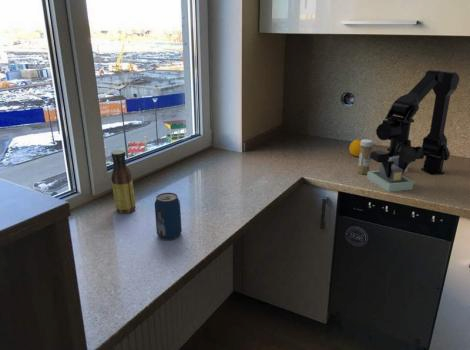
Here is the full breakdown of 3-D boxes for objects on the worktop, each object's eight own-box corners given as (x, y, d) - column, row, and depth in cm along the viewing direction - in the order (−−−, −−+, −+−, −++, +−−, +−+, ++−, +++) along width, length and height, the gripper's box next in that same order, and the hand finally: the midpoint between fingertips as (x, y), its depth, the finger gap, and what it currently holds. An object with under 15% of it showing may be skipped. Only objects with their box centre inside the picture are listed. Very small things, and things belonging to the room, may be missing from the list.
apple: (345, 154, 184) (346, 138, 182) (358, 152, 187) (360, 136, 185) (356, 159, 177) (358, 142, 175) (370, 156, 180) (372, 140, 178)
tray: (389, 175, 157) (390, 169, 156) (412, 189, 145) (413, 182, 144) (366, 178, 155) (367, 171, 154) (388, 191, 142) (389, 184, 141)
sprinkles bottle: (367, 175, 158) (371, 142, 153) (355, 173, 160) (359, 141, 155) (370, 171, 162) (374, 139, 157) (358, 170, 164) (362, 138, 159)
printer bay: (397, 166, 167) (399, 155, 166) (407, 172, 161) (409, 160, 160) (381, 168, 166) (383, 157, 164) (391, 173, 160) (393, 161, 158)
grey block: (388, 177, 154) (390, 162, 152) (401, 184, 146) (403, 169, 144) (378, 178, 153) (380, 163, 151) (391, 185, 145) (393, 170, 143)
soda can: (182, 229, 116) (180, 191, 112) (180, 241, 110) (178, 201, 106) (159, 229, 116) (156, 191, 112) (155, 241, 110) (152, 202, 105)
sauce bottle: (128, 204, 132) (122, 147, 125) (139, 209, 129) (134, 150, 122) (111, 211, 128) (104, 151, 121) (123, 216, 124) (116, 155, 117)
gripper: (390, 143, 132) (384, 187, 137) (438, 139, 136) (430, 182, 142) (371, 135, 142) (366, 176, 147) (416, 131, 146) (410, 171, 152)
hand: (393, 176), depth 147 cm, fingers open, 5 cm apart
